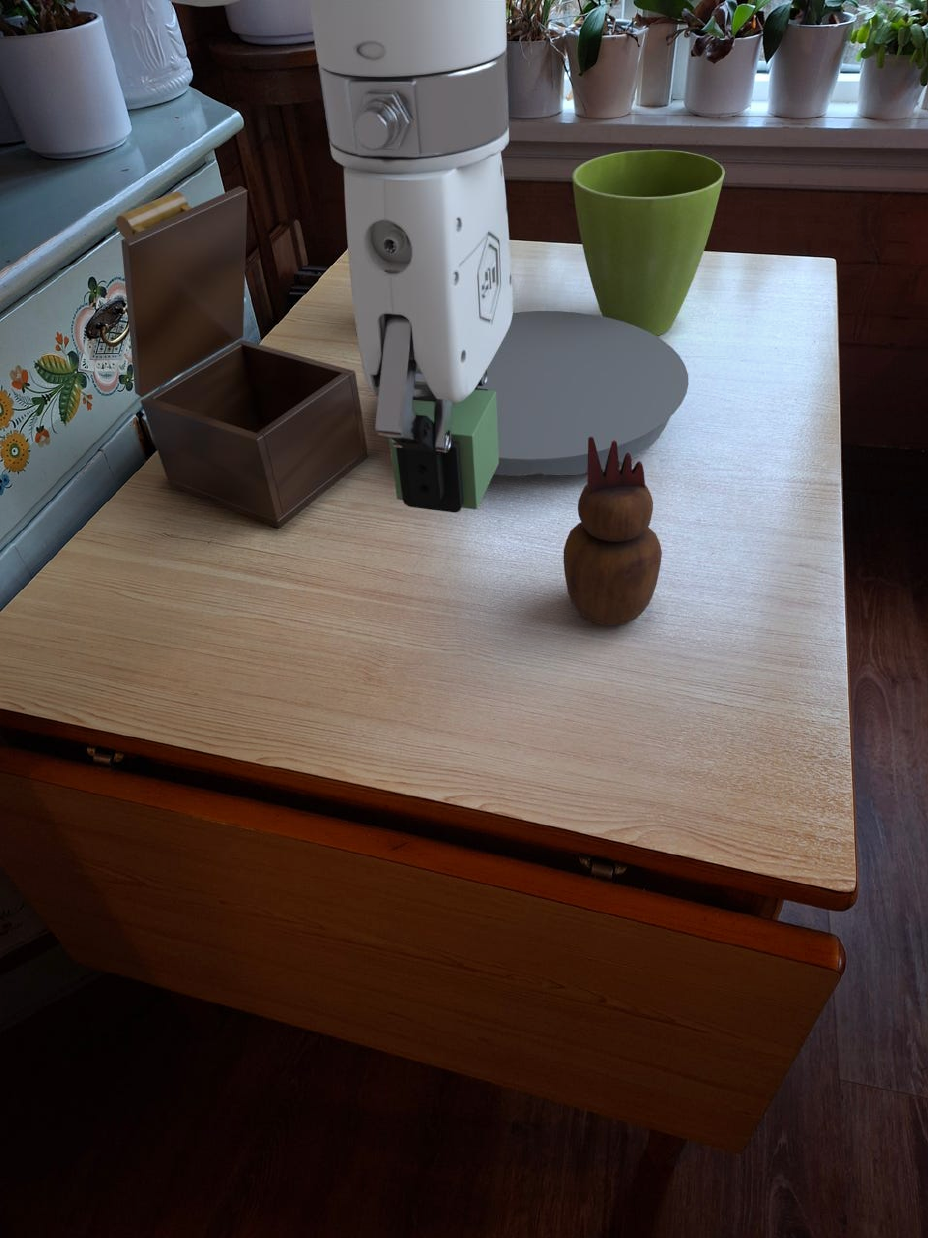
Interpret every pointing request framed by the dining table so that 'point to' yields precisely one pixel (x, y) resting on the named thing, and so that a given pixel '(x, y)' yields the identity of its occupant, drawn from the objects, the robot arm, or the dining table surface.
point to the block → (467, 442)
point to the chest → (258, 430)
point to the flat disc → (579, 391)
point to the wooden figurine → (612, 543)
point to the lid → (183, 282)
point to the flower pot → (645, 230)
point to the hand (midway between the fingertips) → (448, 475)
